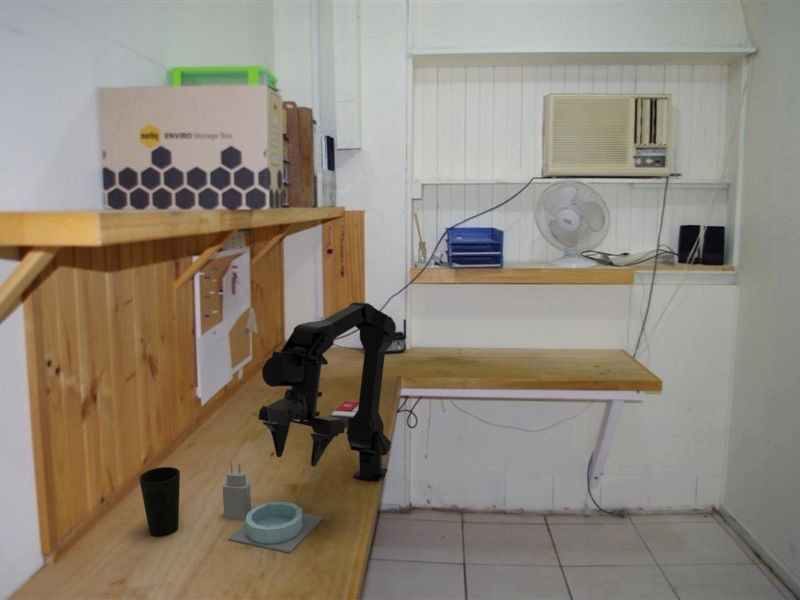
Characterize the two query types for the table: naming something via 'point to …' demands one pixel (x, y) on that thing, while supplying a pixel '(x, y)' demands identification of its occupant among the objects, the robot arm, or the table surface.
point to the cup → (161, 500)
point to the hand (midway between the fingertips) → (295, 461)
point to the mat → (307, 526)
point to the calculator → (346, 411)
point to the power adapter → (236, 495)
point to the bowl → (274, 522)
